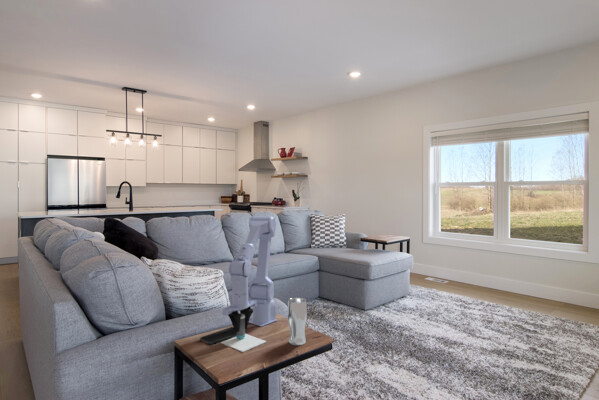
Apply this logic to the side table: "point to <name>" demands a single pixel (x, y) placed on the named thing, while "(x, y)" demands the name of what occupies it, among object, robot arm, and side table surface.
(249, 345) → the paper
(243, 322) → the grey cylinder
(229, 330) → the phone
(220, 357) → the side table surface
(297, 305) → the beer glass
